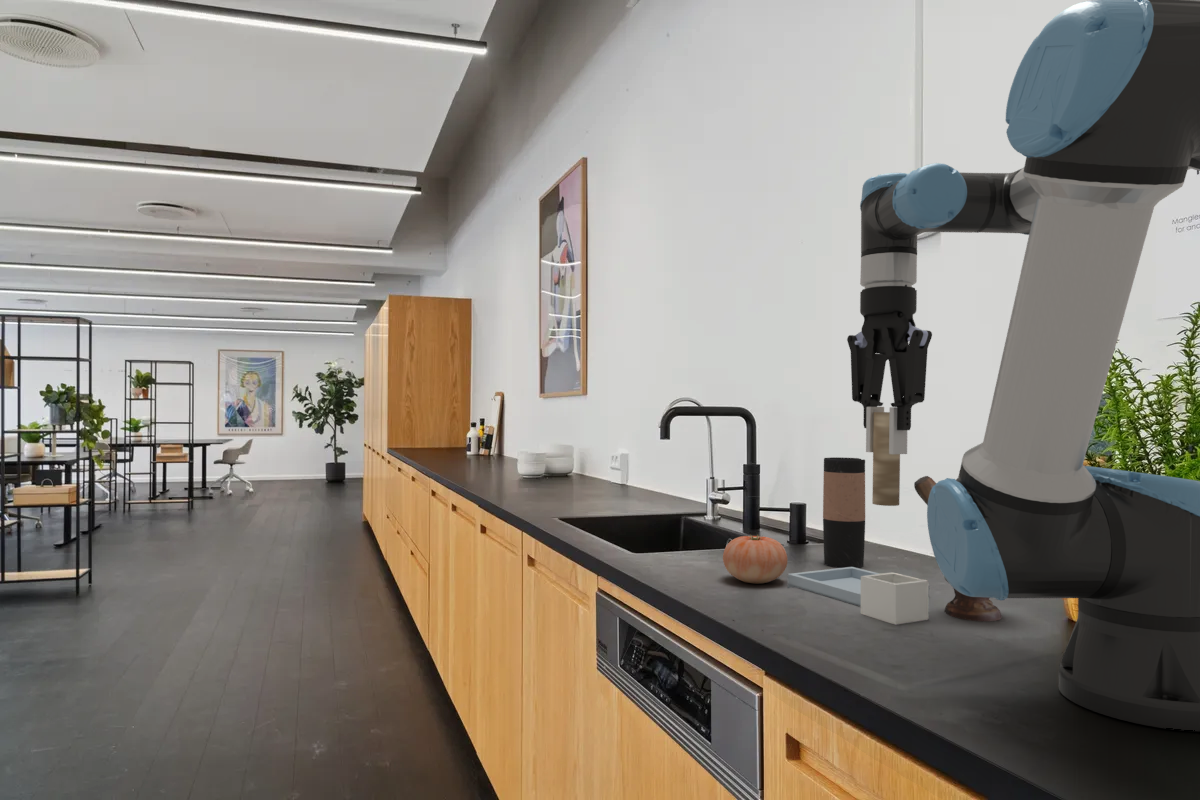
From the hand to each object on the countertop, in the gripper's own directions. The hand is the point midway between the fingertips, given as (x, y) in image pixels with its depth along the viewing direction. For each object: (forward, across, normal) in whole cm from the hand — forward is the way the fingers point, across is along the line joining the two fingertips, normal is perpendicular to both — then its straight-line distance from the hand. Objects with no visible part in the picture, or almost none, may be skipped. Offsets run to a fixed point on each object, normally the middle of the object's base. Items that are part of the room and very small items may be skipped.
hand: (886, 452), depth 113 cm
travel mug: (+24, +30, -22) cm, 45 cm away
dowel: (+7, 0, 0) cm, 7 cm away
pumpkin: (+24, +26, +2) cm, 35 cm away
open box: (+23, -3, +2) cm, 23 cm away
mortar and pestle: (+23, -6, -8) cm, 25 cm away
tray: (+23, +11, -5) cm, 26 cm away
